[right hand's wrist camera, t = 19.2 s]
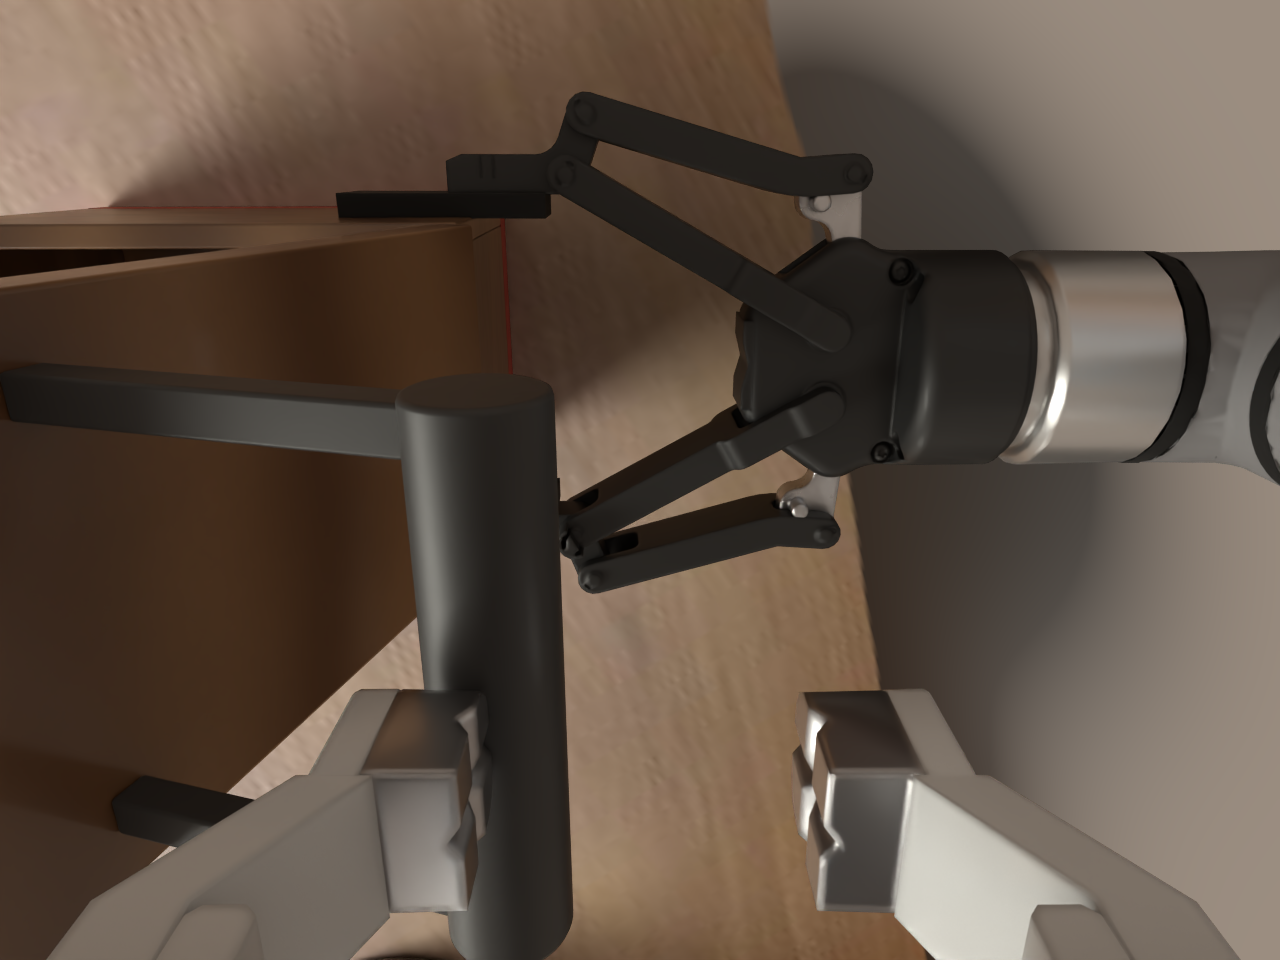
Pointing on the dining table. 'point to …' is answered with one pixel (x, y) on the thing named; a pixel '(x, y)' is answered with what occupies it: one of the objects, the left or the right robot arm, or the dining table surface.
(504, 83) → the dining table surface
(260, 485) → the lid
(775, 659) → the dining table surface
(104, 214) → the chest
